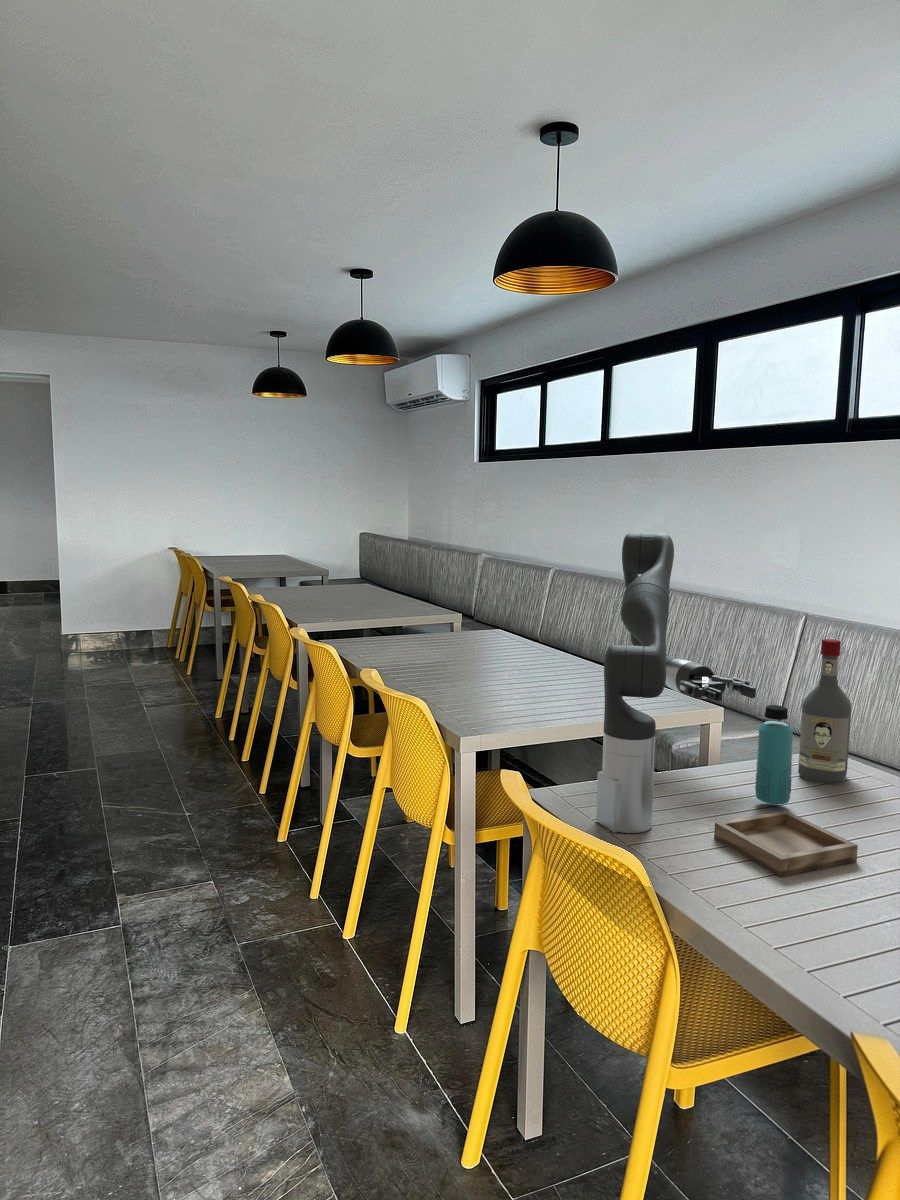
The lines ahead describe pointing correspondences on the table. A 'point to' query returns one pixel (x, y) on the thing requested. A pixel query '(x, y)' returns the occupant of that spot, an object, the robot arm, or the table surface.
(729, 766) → the table surface
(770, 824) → the tray
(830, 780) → the liquor
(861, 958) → the table surface
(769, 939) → the table surface
